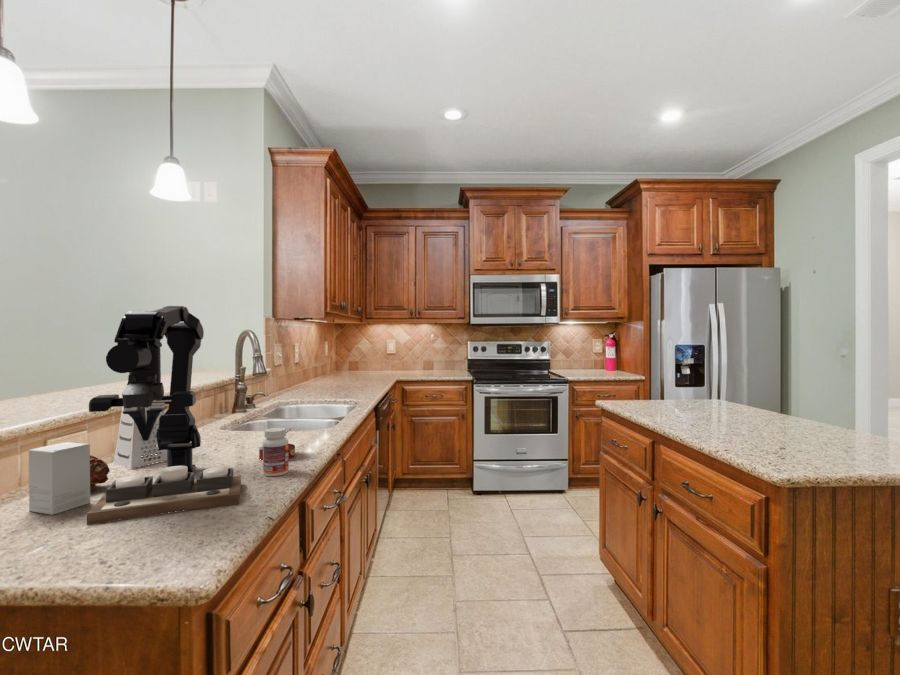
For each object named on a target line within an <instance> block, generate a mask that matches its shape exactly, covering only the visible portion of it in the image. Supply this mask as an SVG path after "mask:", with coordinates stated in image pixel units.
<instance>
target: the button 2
mask: <svg viewBox="0 0 900 675" xmlns="http://www.w3.org/2000/svg"><path fill="white" fill-rule="evenodd" d="M202 471H203V479H204V478H213V477H222V476H228V467H225V466H215V467H214V466H213V467H210V468H206V469H204V470H202Z"/></svg>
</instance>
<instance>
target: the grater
mask: <svg viewBox="0 0 900 675" xmlns="http://www.w3.org/2000/svg"><path fill="white" fill-rule="evenodd" d="M148 409H150V407H146V408H145V415H146V422H147V412H146V411H147V410H148ZM123 411H124V406H121V413H120V419H119V424H118V425H119V426H118V432H117V439H116V445H115V452H114V456H113V457H114V458H113V464H114V465H117V466H120V465H121V466H120V467H123V466H125V467H124V468H126V467H128V468H127V469H129V468H134V467H138V468H140V467H139V466H143V465H148V464H152V463H156V462H161V461H166V460H167V450H159V449H158V443H157V437H156V433H157V429H158V427H159V418H160V417H161V415H164V414H165V413H166V412H165V410H164V411H163V412H160V414H159V416H158V417H157V419H156V422H155V424H154V427H153V429H152V432H151V435H150V437H149V440H148V441H143V439H142V437H141V434H140V432H139V430H138V428H137V425H136V423H135V422H134V420H133V419H132V418H131V417H130V416H129V415H128V414H123ZM151 454H154V455H152V456H150V455H151ZM155 454H157V455H155ZM146 455H149V456H147V457H146ZM141 456H144V457H142V458H141ZM159 456H161V457H160V458H159ZM154 458H155V459H154ZM149 459H151V460H149ZM145 460H146V461H145ZM166 462H167V461H166ZM161 463H162V462H161ZM152 465H153V464H152ZM148 466H149V465H148ZM143 467H144V466H143ZM134 469H135V468H134Z"/></svg>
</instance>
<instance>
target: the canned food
mask: <svg viewBox="0 0 900 675" xmlns="http://www.w3.org/2000/svg"><path fill="white" fill-rule="evenodd" d="M291 429H292V428H289V429H288V430H286V434H287V433H289V431H291ZM258 450H259V451H258V454H259V455H258V457H259V460H260V459H261V460H263V445H262V446H260V447H259V448H258ZM294 456H295V457H296V446H295V444H293V443H288V460H291V459H293V458H295V457H294ZM292 457H293V458H292ZM290 458H291V459H290ZM261 460H260V461H261Z"/></svg>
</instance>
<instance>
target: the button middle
mask: <svg viewBox="0 0 900 675" xmlns="http://www.w3.org/2000/svg"><path fill="white" fill-rule="evenodd" d="M160 475H161V483H167V482H176V481H185V480H187V479H188V467H187V466H172V467H167V466H166V467H164V468H162V469H161V470H160Z"/></svg>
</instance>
